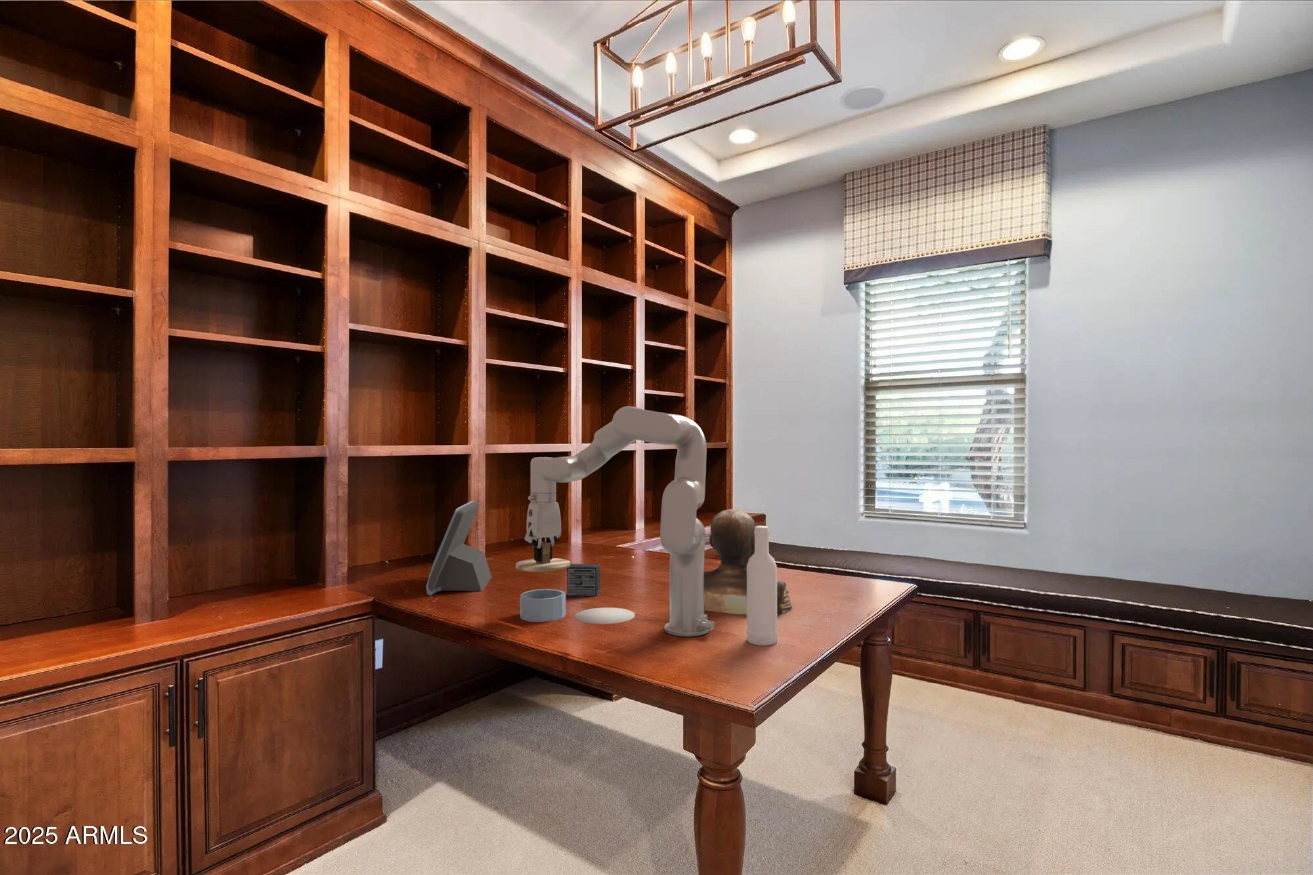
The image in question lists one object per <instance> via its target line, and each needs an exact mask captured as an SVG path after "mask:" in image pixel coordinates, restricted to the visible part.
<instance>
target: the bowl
mask: <svg viewBox="0 0 1313 875" xmlns="http://www.w3.org/2000/svg"><path fill="white" fill-rule="evenodd" d="M566 615H567V592H565V591H564V590H560V589H555V588H553V589H551V588H544V589H543V588H542V589H541V588H540V589H532V590H528V591H524V592H522V593H521V594H519V617H520V619H521V620H523V621H526V622H531V623H534V622H535V623H545V622H554V621H557V620H562V619H563V618H565V617H566Z"/></svg>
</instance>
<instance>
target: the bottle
mask: <svg viewBox="0 0 1313 875" xmlns="http://www.w3.org/2000/svg"><path fill="white" fill-rule="evenodd" d="M755 526H756V527H755V531H754V534H755V553H754V554H753V555H752V556H751V557H750V558H749V561H748V564H747V615H746V640H747V642H748V643H750V644H751V645H756V646H763V647H765V646H773V645H775V644H777V643H778V635H779V634H778V632H779V631H778V630H779V629H778V614H777V581H778V565H777V564H776V560H775V558H774V557H773V556H772V555H771V554H770V553H769V551H770V548H769V546H770V544H769V539H770V538H769V536H770V530H769V527H768V526H767V525H755Z"/></svg>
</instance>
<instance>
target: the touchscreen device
mask: <svg viewBox="0 0 1313 875" xmlns="http://www.w3.org/2000/svg"><path fill="white" fill-rule="evenodd" d="M479 506H480V503H479V502H477V501H474V500H471V501H468V502H467V503H465V504H463V505H461V506H459V507H457V508H456V509H455V510H454V512H453V514H452V516H451V519H450V521H449V524H448V526H447V528H446V531H445V534H444V535H443V539H442V540H441V543H440V545H439V548H438V550H437V553H436V556H435V558H434V560H433V563H432V566H431V568H430V572H429V574H428V578H427V582H426V585H425V588H426V594H427V595H428V596H430V597H431V596H433V595H434V594H436V593H438V592H441V591H447V592H448V591H452V592H453V591H454V592H456V591H457V592H483V590H484V589H485V587H486V586H487V585H488V583H489V582H490V580H491V579H492V574H491V571H490V568H489V567H490V566H489V563H488V561H487V558H486V554H485V551H482V550H480V549H477V548H475V547H472V546H470V545H468V544H465V542H466V540H467V539H466V538H467V536H468V533H469V531H470V530H471V526H472V524H473V521H474V520H475V516H476V515H477V511H478V510H479Z"/></svg>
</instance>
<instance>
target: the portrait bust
mask: <svg viewBox="0 0 1313 875" xmlns="http://www.w3.org/2000/svg"><path fill="white" fill-rule="evenodd" d="M756 526H757V525H756V522H755V520H754V519H753V518H752V516H750V515H749V514H748V513H747V512H745V511H743V510H739V509H735V508H729V509H726V510H725V509H724V510H722V511H720V512H719V513H717V514H716V515H714V516H713V519H712V520H711V522H710V535H709V545H710V546H711V548H712V549H714V550H715V551H716V552H717V554H718V556H719V557H720V565H718V567H717V568H715V569H713V570H709V571H708V570H707V571H704V611H707V612H708V611H709V612H713V613H714V612H715V613H725V614H733V615H743V614H745V615H746V616H747V564H748V561H749V558H750V557H751V556H752V555H753V554H754V553H755V534H754V531H755V527H756ZM791 608H792V609H793V603H792V600H791V596H790V592H789V590H788V586H787V583H786V582H785V581H780V580H777V615H782V613H783V614H785V613H784V612H786V613H788V612H789V611H791V610H792V609H791ZM790 609H791V610H790ZM788 610H789V611H788ZM787 611H788V612H787Z"/></svg>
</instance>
